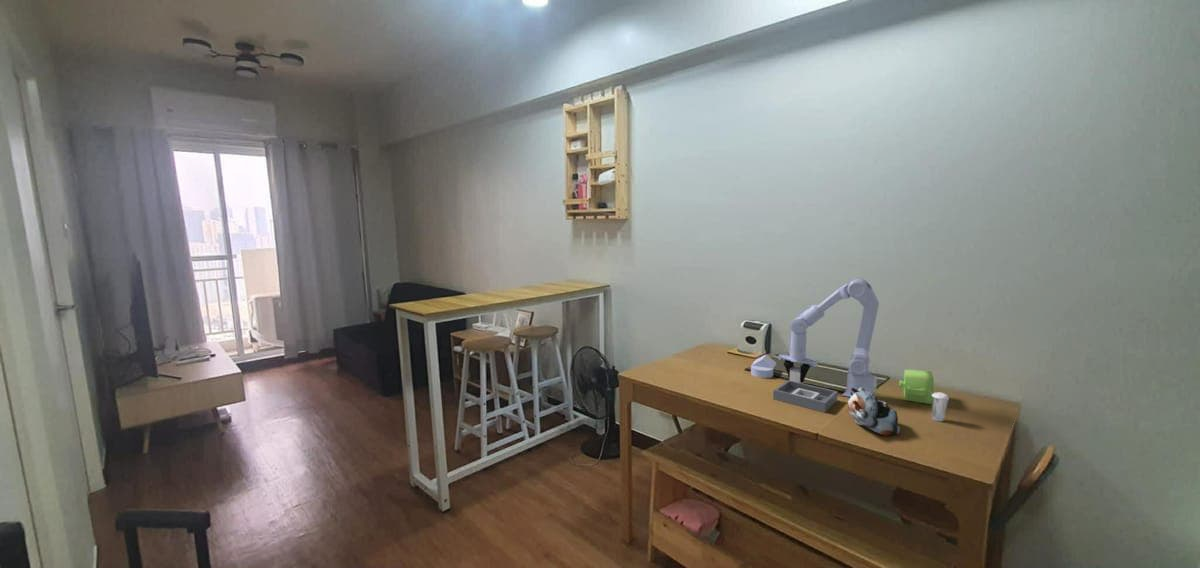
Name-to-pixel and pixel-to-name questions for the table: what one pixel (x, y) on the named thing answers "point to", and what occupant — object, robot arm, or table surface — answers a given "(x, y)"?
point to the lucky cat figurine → (873, 413)
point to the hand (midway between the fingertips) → (796, 380)
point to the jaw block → (795, 374)
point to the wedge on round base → (763, 367)
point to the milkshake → (939, 406)
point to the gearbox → (918, 386)
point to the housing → (805, 395)
